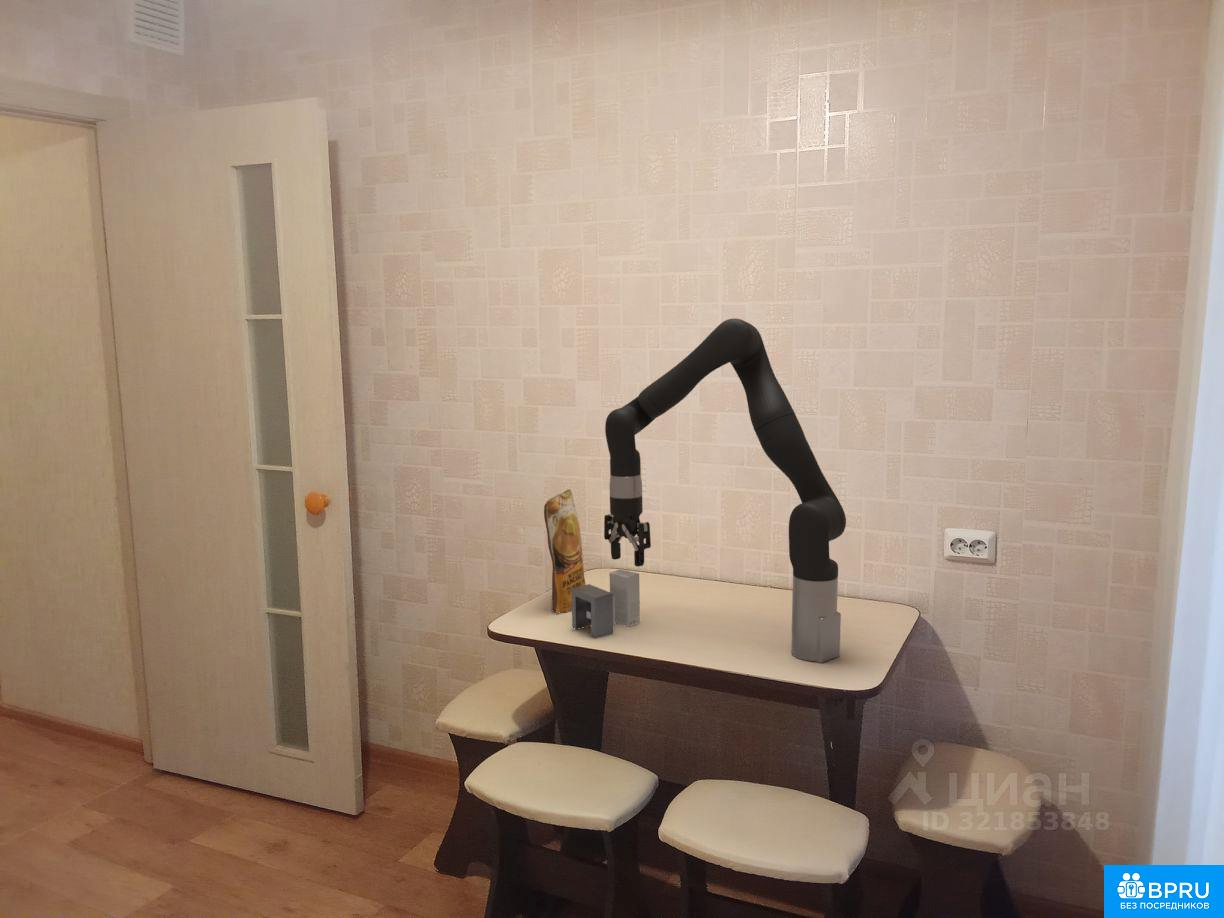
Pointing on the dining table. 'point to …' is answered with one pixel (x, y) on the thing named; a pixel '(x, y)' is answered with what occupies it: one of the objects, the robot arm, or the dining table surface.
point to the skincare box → (625, 596)
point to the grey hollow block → (593, 610)
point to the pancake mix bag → (564, 549)
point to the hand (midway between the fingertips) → (627, 562)
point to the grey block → (613, 612)
